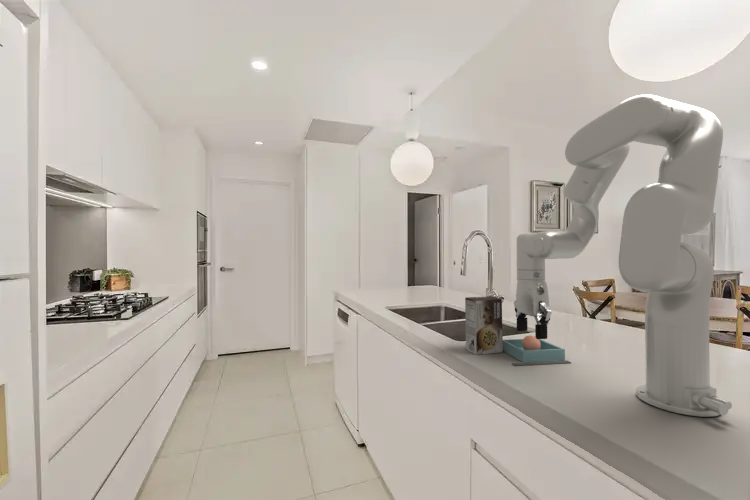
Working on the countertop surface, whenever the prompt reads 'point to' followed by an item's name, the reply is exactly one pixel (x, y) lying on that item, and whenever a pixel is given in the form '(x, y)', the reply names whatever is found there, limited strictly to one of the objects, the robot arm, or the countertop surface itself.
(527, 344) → the ball
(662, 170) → the robot arm
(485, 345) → the coffee box
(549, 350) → the tray
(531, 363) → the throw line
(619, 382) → the countertop surface
